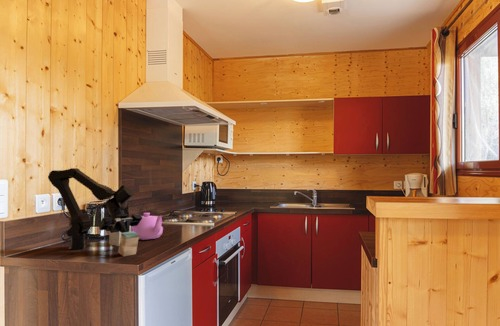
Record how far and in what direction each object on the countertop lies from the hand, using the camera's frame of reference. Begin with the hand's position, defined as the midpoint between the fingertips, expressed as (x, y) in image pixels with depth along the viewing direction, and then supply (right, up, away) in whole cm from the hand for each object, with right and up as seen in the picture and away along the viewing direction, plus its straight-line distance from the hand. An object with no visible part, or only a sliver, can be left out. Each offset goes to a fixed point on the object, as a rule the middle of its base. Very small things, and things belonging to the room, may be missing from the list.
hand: (128, 236), depth 160 cm
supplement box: (-11, -8, +21) cm, 25 cm away
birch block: (0, -7, -1) cm, 7 cm away
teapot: (-1, -9, +37) cm, 38 cm away
